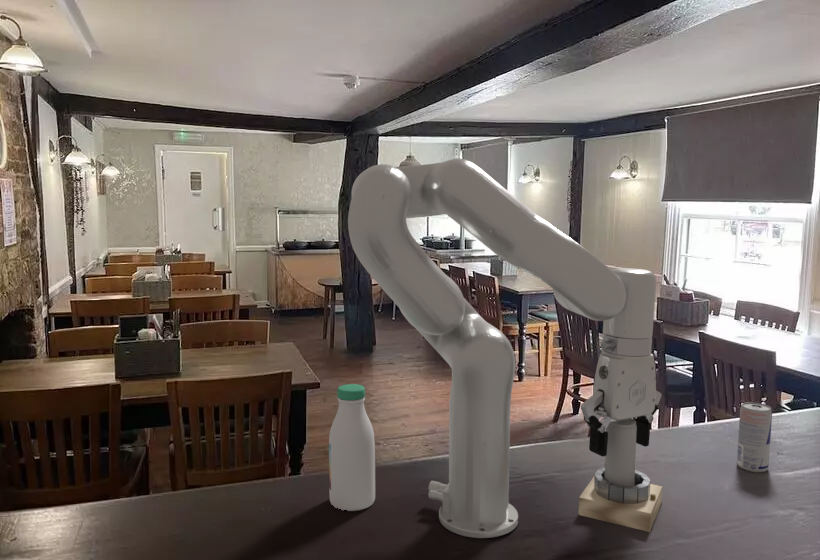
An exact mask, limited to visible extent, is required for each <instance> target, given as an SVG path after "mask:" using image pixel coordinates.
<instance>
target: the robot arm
mask: <svg viewBox="0 0 820 560" xmlns="http://www.w3.org/2000/svg"><path fill="white" fill-rule="evenodd" d="M442 215H446V216H448V217H449V218H450V219H452V220H453V221H454V222H455V223H456V224H458V225H459V226H460V227H461V228H463V229H464V230H465V231H467V232H468V233H469V234H470V235H472V236H473V237H474V238H476V240H478V241H479V242H480V243H482V244H483V245H484V246H485V247H486V248H487V249H489V250H490V251H491V252H492V253H494V254H495V255H496V256H498V257H499V258H501V259H502V260H504V261H506V262H507V263H508V264H509V265H511V266H513V267H516V268H517V269H520V270H521V271H524V272H526V273H528V274H530V275H532V276H533V277H535V278H537V279H538V280H540V281H541V282H542V283H544V284H546V285H547V286H549V287H550V288H552V291H553V296H554V299H555V300H556V301H557V303H558V304H559V305H561V306H562V308H565V310H568V311H570V312H571V313H572V312H573V313H575V314H577V315H581V317H582V316H583V317H585V318H587V319H589V320H592V321H597V322H602V323H603V325H602V338H601V339H602V340H601V342H600V344H599V345H600V349H601V353H599V357H598V361H597V364H596V369H595V375H594V381H593V389H592V395H590V397H588V399H586V400H585V401H584V402H583V403H581V405H580V410H581V412H582V415H583V420H584V422H585V423H586V424H587V427H588V428H590V430H589V431H590V432H589V445H588V449H589V451H590V452H592V453H594V454H596V455H598V456H601V457H605V456H606V455H607V443H608V432H606V428H607V427H608V425H609V423H610V422H611V420H612V419H613V420H616V421H620V420H626V419H631V418H632V419H634V420H635V421H636V426H637V432H636V445H637V444H638V445H640V446H643V447H648V446H650V435H651V423H653V422H654V419H655V418H654V415H656V414H655V413H656V412H657V411H658V408H659V407H658V405H659V403H660V400H661V398H662V393H661V392H660V391H658V390H657V386H656V385H657V379H656V378H657V376H656V373H657V371H656V364H655V363H656V362H655V359H654V354H653V353H652V344H653V330H654V321H655V320H654V317H655V316H654V315H655V304H656V302H655V301H656V291H657V278H656V275H655V273H654V272H652V271H650V270H648V269H642V268H632V267H618V268H613V269H611V268H610V267H609V266H607V265H606V264H605V263H603V262H602V261H601V260H600V259H599V258H597V256H596V255H594V254H593V253H591V252H590V251H589V250H588V249H586V248H585V247H583V246H582V245H581V244H579V243H578V242H577V241H576V240H574V239H572V238H571V237H570V236H568V235H567V234H565V233H563V232H562V231H561V230H559V229H557V227H555V226H554V225H553V224H551V223H550V222H549V221H547V220H546V219H544V218H542V216H540V215H538V214H537V213H535V212H534V211H533V210H531V209H530V208H529V207H528V206H527V205H525V203H523V202H522V201H521V200H519V199H518V198H517V197H515V196H514V195H513V194H512V193H511V192H510V191H508V190H507V189H506V188H505V187H504V186H502V185H501V184H500V183H499V182H498V181H497V180H495V179H494V178H493V177H492V176H491V175H489V174H488V173H487V172H486V171H485V170H483V169H482V168H481V167H479V166H478V165H477V164H475V163H474V162H473V161H471V160H468V159H464V158H453V159H448V160H445V161H442V162H435V163H429V164H416V165H403V166H393V165H390V164H383V163H382V164H375V165H372V166H369V167H368V168H367V169H365V170H363V171H362V172H360V174H359V175H358V176H357V177H356V178H355V180H354V182H353V185H352V188H351V199H350V205H349V210H348V216H347V225H348V226H347V228H348V229H347V230H348V234H349V235H348V236H349V239H350V244H351V246H352V249H353V252H354V254H355V256H356V257H357V260H358V261H359V262H360V264H361V266H363V268H364V269H365V270H366V272H367V273H368V274H369V275H370V276H371V278H372V279H373V280H374V281H375V282H376V283H377V284H378V285H379V287H380V288H381V289H382V290H383V292H384V293H385V294H386V295H387V296H388V297H389V298H390V299H391V300H392V301H393V303H394V304H395V305H396V306H397V307H398V308H399V310H400V312H401V314H402V315H403V317H404V318H405V320H406V321H408V323H409V324H410V325H411V326H412V327H414V329H416V331H417V332H418V333H420V335H421V336H422V337H423V338H424V340H426V341H427V342H428V343H429V345H431V346H432V348H433V349H434V350H435V351H436V352H437V353H438V354H439V355H440V356H441V358H443V360H444V361H445V362H446V363H447V364H448V365H449V367H450V368H451V386H450V392H449V393H450V394H449V403H448V405H449V407H448V408H449V409H448V429H449V430H448V483H447V484H445V483H442V482H440V481H435V480H430V481H429V485H428V498H429V499H430V500H435V501H436V500H437V501H440V502H441V503H442V505H441V506H440V507H439V510H438V519H439V522H440V524H441V525H442V526H443V527H444V528H445V529H447V530H448V531H450V532H452V533H454V534H457V535H459V536H463V537H468V538H474V539H491V538H498V537H502V536H504V535H506V534H509V533H511V532H512V531H514V529H515V528H517V526H518V524H519V512H518V510H517V509H516V508H515V506H513V505H512V504H511V503H510V502H509V501H510V500H509V498H510V496H509V495H510V492H509V491H510V453H511V452H510V450H511V449H510V448H511V447H510V444H511V442H510V441H511V435H510V434H511V405H512V404H511V403H512V400H511V399H512V392H513V385H514V379H515V373H516V356H515V351H514V348H513V346H512V344H511V342H510V340H509V338H508V337H507V336H506V335H505V334H504V333H503V332H502V331H501V330H500V329H498V328H496V326H494V325H492V324H491V323H489V322H487V321H486V320H485V319H484V318H483V317H482V316H481V315H480V314H479V312H478V311H476V309H475V308H474V307H473V305H471V303H469V301H468V300H467V299H466V298H465V297H464V294H463V292H462V290H461V289H460V287H459V285H458V284H457V283H456V282H455V281H454V280H453V278H451V277H449V275H447V274H446V273H445V272H444V271H443V270H442V269H441V268H440V267H439V266H438V265H437V263H435V261H434V260H433V259H432V258H431V257H430V256H429V255H428V254H427V253H426V251H425V250H424V249H423V248H422V246H421V244H419V243H418V241H417V240H416V239H415V238H414V237H413V235H412V234H411V232H410V230H409V227H408V224H407V223H408V222H407V219H415V218H425V217H434V216H442ZM601 417H603V418H602V420H601V421H600V418H601Z"/></svg>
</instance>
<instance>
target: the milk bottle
mask: <svg viewBox="0 0 820 560" xmlns="http://www.w3.org/2000/svg"><path fill="white" fill-rule="evenodd" d="M336 391H337V392H336V393H337V395H336V396H337V401H338V408H337V411H336V415H335V417H334V418H333V420H332V424H331V427H330V431H329V434H328V435H329V437H328V478H329V480H328V483H329V484H328V485H329V490H328V491H329V493H328V494H329V502H330V504H331V506H332V505H333V506H334V507H333V506H332V507H333V508H335V509H337V508H338V509H337V510H339V509H341V510H340V511H344V510H347V511H346V512H356V511H362V510H364V509H368V508H369V507H371V506H372V505H373V504H374V502H375V500H376V448H375V447H376V446H375V433H374V427H373V425H372V422H371V420H370V418H369V416H368V414H367V411H366V409H365V400H366V398H365V397H366V388H365V386H363V385H362V384H356V383H348V384H343V385H342V384H341V385H339V386H338V387H337V389H336Z"/></svg>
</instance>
